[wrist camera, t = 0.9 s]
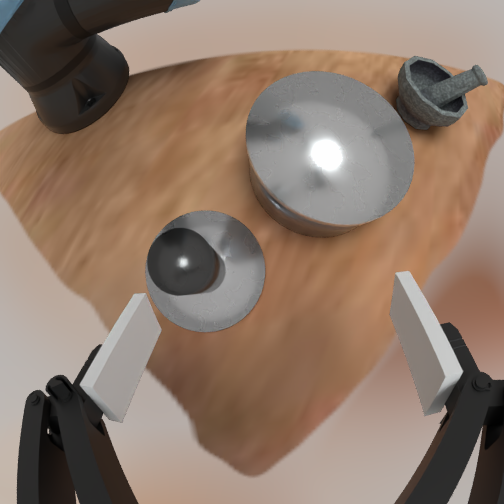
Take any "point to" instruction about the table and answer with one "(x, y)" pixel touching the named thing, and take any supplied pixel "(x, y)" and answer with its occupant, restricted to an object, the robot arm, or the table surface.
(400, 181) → the cooker pot
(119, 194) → the table surface
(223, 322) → the steel lid
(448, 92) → the mortar and pestle
